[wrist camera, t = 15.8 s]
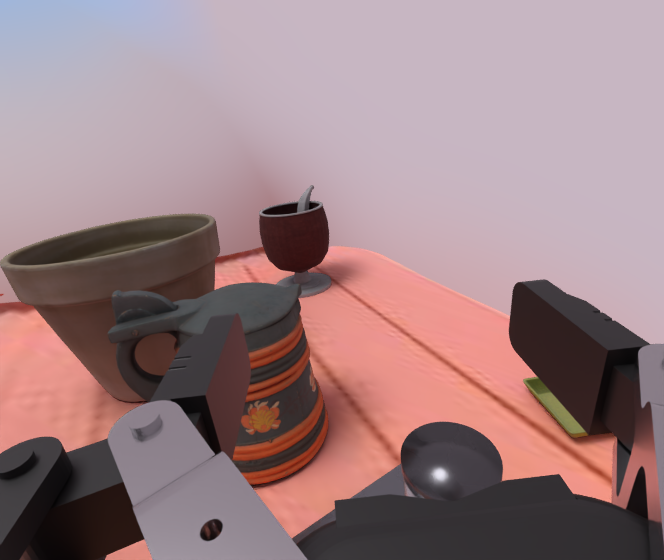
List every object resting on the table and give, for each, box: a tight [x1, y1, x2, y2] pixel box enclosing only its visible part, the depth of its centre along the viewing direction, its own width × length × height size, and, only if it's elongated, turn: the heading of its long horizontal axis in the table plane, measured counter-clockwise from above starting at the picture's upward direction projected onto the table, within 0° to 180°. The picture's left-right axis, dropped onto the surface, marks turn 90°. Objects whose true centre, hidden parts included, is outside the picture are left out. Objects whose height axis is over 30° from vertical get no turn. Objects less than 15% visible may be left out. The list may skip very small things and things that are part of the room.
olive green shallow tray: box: [523, 377, 588, 438], centre depth 41 cm, size 9×9×2 cm
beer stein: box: [107, 283, 328, 485], centre depth 39 cm, size 19×15×20 cm
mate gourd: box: [259, 185, 331, 298], centre depth 80 cm, size 16×14×20 cm
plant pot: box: [0, 214, 220, 402], centre depth 54 cm, size 25×25×22 cm
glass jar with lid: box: [401, 422, 503, 501], centre depth 25 cm, size 6×6×11 cm
